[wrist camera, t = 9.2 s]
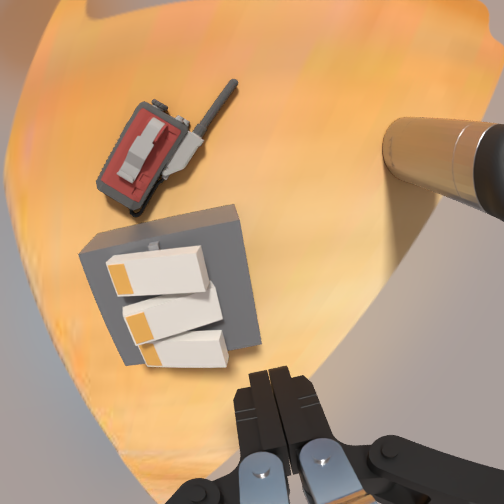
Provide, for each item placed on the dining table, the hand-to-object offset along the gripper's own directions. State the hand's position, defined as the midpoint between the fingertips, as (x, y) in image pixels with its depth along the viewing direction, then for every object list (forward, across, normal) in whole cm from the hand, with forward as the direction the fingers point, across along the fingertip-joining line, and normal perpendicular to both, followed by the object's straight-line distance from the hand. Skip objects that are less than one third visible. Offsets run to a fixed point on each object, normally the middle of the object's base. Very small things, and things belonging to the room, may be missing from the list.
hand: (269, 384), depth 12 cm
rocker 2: (+21, +8, +13) cm, 26 cm away
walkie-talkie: (+30, +6, -10) cm, 32 cm away
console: (+29, +8, +8) cm, 31 cm away
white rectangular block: (+21, +8, +3) cm, 22 cm away
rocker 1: (+21, +8, +8) cm, 24 cm away
